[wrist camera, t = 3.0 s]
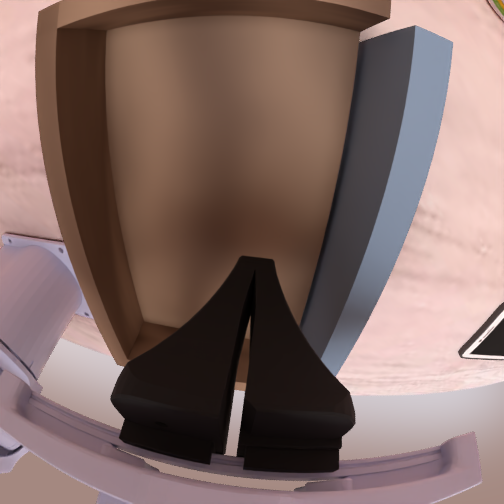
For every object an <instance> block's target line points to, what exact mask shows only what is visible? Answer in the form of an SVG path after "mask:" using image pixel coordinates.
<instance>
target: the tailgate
mask: <svg viewBox="0 0 504 504" xmlns="http://www.w3.org/2000/svg"><path fill="white" fill-rule="evenodd" d="M452 48H453V42H451V41H449V40H447V39H445V38H443V37H441V36H439V35H437V34H435V33H432V32H430V31H428V30H425V29H423V28H421V27H418V26H416V25H415V26H411V27H407V28H404V29H400V30H397V31H393V32H390V33H387V34H383V35H380V36H377V37H374V38H371V39H368V40H365V41H362V42H360V43H359V47H358V56H357V64H356V72H355V79H354V86H353V93H352V100H351V106H350V112H349V119H348V124H347V130H346V136H345V141H344V147H343V152H342V157H341V162H340V167H339V172H338V177H337V182H336V186H335V191H334V196H333V200H332V204H331V209H330V213H329V217H328V222H327V226H326V230H325V234H324V238H323V242H322V246H321V250H320V254H319V258H318V261H317V265H316V269H315V273H314V276H313V280H312V284H311V287H310V291H309V294H308V298H307V301H306V305H305V308H304V311H303V315H302V318H301V321H300V325H299V328H300V329H301V331H302V333H303V334H304V336H305V338H306V339H307V341H308V342H309V344H310V345H311V347H312V348H313V350H314V351H315V352H316V354H317V355H318V356H319V358H320V359H321V360H322V362H323V363H324V364H325V366H326V367H327V368H328V369H329V370H330V372H331V373H332V374H333V375H334V376H336V375H337V373H338V372H339V370H340V368H341V367H342V365H343V364H344V362H345V360H346V359H347V357H348V355H349V353H350V352H351V350H352V348H353V347H354V345H355V343H356V341H357V339H358V338H359V336H360V334H361V332H362V330H363V329H364V327H365V325H366V323H367V321H368V319H369V317H370V315H371V313H372V311H373V309H374V307H375V305H376V303H377V301H378V299H379V297H380V295H381V293H382V291H383V289H384V287H385V285H386V283H387V281H388V278H389V276H390V274H391V272H392V269H393V267H394V265H395V263H396V260H397V258H398V256H399V253H400V251H401V248H402V246H403V243H404V241H405V238H406V236H407V233H408V231H409V228H410V225H411V223H412V220H413V217H414V215H415V212H416V209H417V206H418V203H419V200H420V197H421V194H422V191H423V188H424V185H425V182H426V178H427V175H428V172H429V168H430V165H431V161H432V158H433V154H434V150H435V146H436V142H437V138H438V134H439V130H440V125H441V121H442V116H443V111H444V106H445V100H446V95H447V89H448V82H449V75H450V67H451V59H452Z"/></svg>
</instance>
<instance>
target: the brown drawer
mask: <svg viewBox="0 0 504 504" xmlns="http://www.w3.org/2000/svg"><path fill="white" fill-rule="evenodd" d="M390 10H391V0H62V1H60V2H57V3H55V4H53V5H51V6H49V7H47V8H45V9H43V10H41V11H39V13H38V23H37V34H36V55H35V80H36V101H37V114H38V124H39V132H40V140H41V147H42V153H43V159H44V165H45V170H46V175H47V180H48V184H49V189H50V193H51V198H52V202H53V206H54V209H55V213H56V217H57V220H58V224H59V227H60V231H61V234H62V237H63V241H64V244H65V247H66V250H67V253H68V256H69V259H70V261H71V264H72V267H73V270H74V272H75V275H76V278H77V280H78V283H79V285H80V288H81V290H82V293H83V295H84V298H85V300H86V302H87V305H88V307H89V309H90V311H91V314H92V316H93V318H94V320H95V322H96V324H97V327H98V329H99V331H100V333H101V335H102V337H103V339H104V341H105V343H106V345H107V347H108V349H109V350H110V352H111V354H112V356H113V358H114V360H115V362H116V363H117V365H120V366H124V367H125V365H126V364H127V362H128V361H130V360H132V359H134V358H136V357H137V356H139V355H141V354H143V353H144V352H146V351H148V350H150V349H151V348H153V347H154V346H156V345H157V344H159V343H160V342H162V341H163V340H164V339H166V338H167V337H169V336H170V335H172V334H173V333H174V332H176V331H177V330H178V329H179V328H180V327H182V326H183V325H184V324H185V323H186V322H187V321H189V320H190V319H191V318H192V317H193V316H194V315H195V314H196V313H197V312H198V311H199V310H200V309H201V308H202V307H203V306H204V305H205V304H206V303H207V302H208V301H209V300H210V298H211V297H212V296H213V295H214V294H215V293H216V291H217V290H218V289H219V288H220V286H221V285H222V284H223V282H224V281H225V280H226V278H227V277H228V276H229V274H230V273H231V271H232V270H233V268H234V266H235V265H236V263H237V261H238V259H239V257H241V256H242V255H243V256H251V257H260V258H268V259H273V260H274V261H275V267H276V272H277V276H278V279H279V283H280V286H281V288H282V291H283V294H284V296H285V299H286V301H287V304H288V306H289V308H290V310H291V312H292V314H293V316H294V318H295V320H296V322H297V324H298V326H299V325H300V321H301V318H302V315H303V311H304V308H305V305H306V301H307V298H308V294H309V291H310V287H311V284H312V280H313V276H314V273H315V269H316V265H317V261H318V258H319V254H320V250H321V246H322V242H323V238H324V234H325V230H326V226H327V222H328V217H329V213H330V209H331V204H332V200H333V196H334V191H335V186H336V182H337V177H338V172H339V167H340V162H341V157H342V152H343V147H344V141H345V136H346V130H347V124H348V119H349V112H350V106H351V100H352V93H353V86H354V79H355V72H356V64H357V56H358V47H359V37H360V32H361V31H363V30H365V29H367V28H369V27H372V26H374V25H376V24H378V23H380V22H383V21H385V20H387V19H390ZM249 346H250V319H249V323H248V327H247V331H246V335H245V339H244V343H243V347H242V351H241V355H240V359H239V364H238V369H237V376H236V382H235V389H234V390H241V391H245V389H246V382H247V374H248V367H249Z"/></svg>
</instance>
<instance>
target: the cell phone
mask: <svg viewBox="0 0 504 504" xmlns="http://www.w3.org/2000/svg"><path fill="white" fill-rule="evenodd" d="M458 353H459V355H460V357H461V358H466V359H483V360H504V302H503V303H502V304H501V305H500V306H499V307H498V308H497V309H496V310H495V311H494V312H493V314H492V315H491V316H490V317H489V318H488V319H487V321H486V322H485V323H484V324H483V325H482V326H481V327H480V328H479V329H478V331H477V332H476V333H475V334H474V335H473V336H472V337H471V338H470V339H469V340H468V341H467V342H466V343H465V344H464V345H463V346H462V347H461V348H460V350H459V351H458Z"/></svg>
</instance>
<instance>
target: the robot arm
mask: <svg viewBox="0 0 504 504" xmlns="http://www.w3.org/2000/svg"><path fill="white" fill-rule="evenodd" d="M2 241H3V243H4V246H3V247H2V248H1V249H0V473H9V472H11V471H12V469H13V467H14V465H15V464H16V462H17V461H18V460H19V459H20V458H21V457H22V456H23V455H24V454H25V453H27V452H29V451H30V452H32V453H33V454H35V455H36V456H38V457H39V458H41V459H42V460H44V461H46V462H47V463H48V464H50V465H52V466H53V467H55V468H57V469H58V470H60V471H62V472H63V473H65V474H67V475H69V476H70V477H72V478H74V479H76V480H78V481H80V482H82V483H84V484H86V485H88V486H90V487H92V488H94V489H96V490H98V491H99V494H98V498H97V502H96V504H434V503H436V502H438V501H441V500H444V499H446V498H449V497H451V496H453V495H456V494H459V493H461V492H463V491H465V490H468V489H470V488H472V487H474V486H476V485H478V484H481V483H482V474H481V466H480V459H479V453H478V447H477V441H476V437H475V432H470V433H466V434H463V435H460V436H457V437H454V438H451V439H449V440H447V441H445V442H444V443H442V444H441V445H440V446H436V447H431V448H428V449H423V450H418V451H413V452H408V453H402V454H396V455H390V456H383V457H375V458H366V459H356V460H341V461H339V449H341V447H342V436H343V435H345V434H346V433H347V432H348V431H349V430H350V429H351V428H352V427H353V426H354V425H355V411H354V406H353V402H352V398H351V395H350V392H349V391H348V390H347V389H346V388H345V387H344V386H343V385H342V384H341V383H340V382H339V381H338V379H337V378H336V377H335V376H334V375H333V374H332V373H331V372H330V370H329V369H328V368H327V367H326V366H325V364H324V363H323V362H322V360H321V359H320V358H319V356H318V355H317V354H316V352H315V351H314V350H313V348H312V347H311V345H310V344H309V342H308V341H307V339H306V338H305V336H304V334H303V333H302V331H301V329H300V328H299V326H298V324H297V322H296V320H295V318H294V316H293V314H292V312H291V310H290V308H289V306H288V304H287V301H286V299H285V296H284V294H283V291H282V288H281V286H280V283H279V279H278V276H277V272H276V267H275V261H274V260H273V259H268V258H260V257H251V256H243V255H242V256H241V257H239V259H238V261H237V263H236V265H235V266H234V268H233V270H232V271H231V273H230V274H229V276H228V277H227V278H226V280H225V281H224V282H223V284H222V285H221V286H220V288H219V289H218V290H217V291H216V293H215V294H214V295H213V296H212V297H211V298H210V300H209V301H208V302H207V303H206V304H205V305H204V306H203V307H202V308H201V309H200V310H199V311H198V312H197V313H196V314H195V315H194V316H193V317H192V318H191V319H190V320H189V321H187V322H186V323H185V324H184V325H183V326H182V327H180V328H179V329H178V330H177V331H176V332H174V333H173V334H172V335H170V336H169V337H167V338H166V339H164V340H163V341H162V342H160V343H159V344H157V345H156V346H154V347H153V348H151V349H150V350H148V351H146V352H144V353H143V354H141V355H139V356H137V357H136V358H134V359H132V360H130V361H128V362H127V364H126V365H125V367H124V369H123V370H122V372H121V374H120V376H119V377H118V379H117V382H116V384H115V387H114V389H113V392H112V395H111V402H112V404H113V405H114V407H115V408H116V409H117V410H118V412H119V413H120V414H121V415H122V416H123V417H124V418H125V420H124V423H123V426H122V429H121V430H120V429H116V428H114V427H111V426H108V425H106V424H103V423H101V422H98V421H95V420H93V419H90V418H88V417H86V416H83V415H81V414H79V413H77V412H74V411H72V410H70V409H68V408H66V407H64V406H61V405H59V404H57V403H55V402H53V401H51V400H49V399H47V398H46V397H44V396H42V395H40V393H41V391H42V389H43V387H42V386H41V385H40V384H39V383H38V382H37V380H38V378H39V376H40V374H41V372H42V370H43V368H44V366H45V364H46V362H47V361H48V359H49V357H50V355H51V353H52V351H53V350H54V348H55V346H56V344H57V342H58V341H59V339H60V337H61V336H62V334H63V332H64V331H65V329H66V327H67V326H68V324H69V322H70V321H71V319H72V317H73V316H74V314H77V315H80V316H84V317H87V318H91V319H94V318H93V316H92V314H91V311H90V309H89V307H88V305H87V302H86V300H85V298H84V295H83V293H82V290H81V288H80V285H79V283H78V280H77V278H76V275H75V272H74V270H73V267H72V264H71V261H70V259H69V256H68V253H67V250H66V247H65V244H64V242H57V241H50V240H44V239H38V238H31V237H25V236H19V235H12V234H6V233H4V234H3V235H2ZM249 319H250V346H249V367H248V374H247V382H246V389H245V397H244V404H243V412H242V420H241V427H240V434H239V441H238V448H237V456H236V457H234V456H227V455H224V454H225V452H226V444H227V437H228V430H229V423H230V417H231V409H232V403H233V396H234V389H235V382H236V376H237V369H238V364H239V359H240V355H241V351H242V347H243V343H244V339H245V335H246V331H247V327H248V323H249ZM117 448H118V449H117ZM119 449H121V450H124V451H127V452H130V453H133V454H136V455H139V456H142V457H145V458H148V459H152V460H155V461H159V462H163V463H166V464H170V465H174V466H179V467H184V468H188V469H193V470H197V471H203V472H208V473H214V474H221V475H227V476H234V477H243V478H253V479H266V480H285V481H287V480H288V481H318V480H327V481H319V482H308V483H307V484H305V486H304V487H300V488H296V489H294V491H280V490H267V489H256V488H246V487H238V486H230V485H223V484H216V483H211V482H204V481H198V480H194V479H189V478H184V477H179V476H174V475H170V474H165V473H162V472H160V471H159V470H158V469H157V468H154V467H152V466H150V465H149V464H147V463H146V462H145V461H144V459H141V458H138V457H136V456H133V455H131V454H128V453H126V452H124V451H121V450H119Z"/></svg>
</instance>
